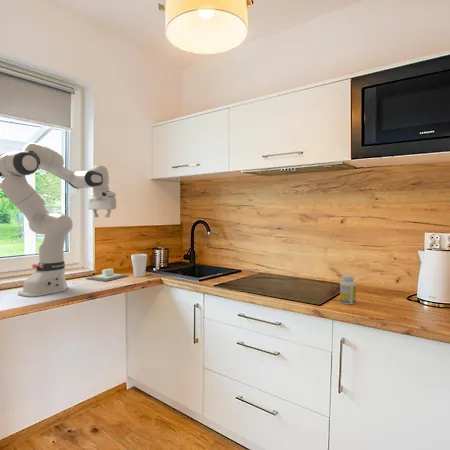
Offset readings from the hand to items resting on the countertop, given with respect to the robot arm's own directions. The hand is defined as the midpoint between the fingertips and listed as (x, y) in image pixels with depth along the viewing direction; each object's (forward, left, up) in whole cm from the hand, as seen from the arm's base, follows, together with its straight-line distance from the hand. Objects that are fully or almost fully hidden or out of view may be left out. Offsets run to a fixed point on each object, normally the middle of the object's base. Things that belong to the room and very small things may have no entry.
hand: (101, 217), depth 199 cm
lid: (+2, -2, -36) cm, 36 cm away
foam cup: (+15, -15, -37) cm, 42 cm away
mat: (+2, -2, -36) cm, 36 cm away
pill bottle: (+11, -137, -37) cm, 142 cm away
